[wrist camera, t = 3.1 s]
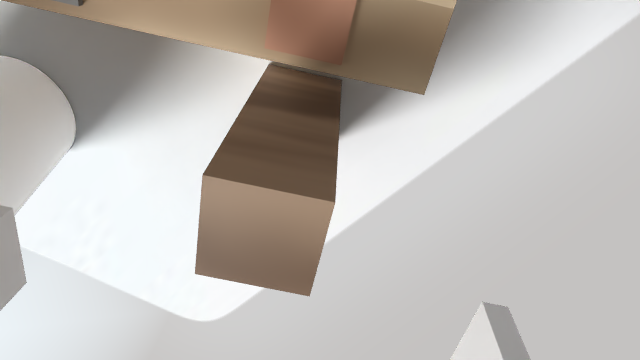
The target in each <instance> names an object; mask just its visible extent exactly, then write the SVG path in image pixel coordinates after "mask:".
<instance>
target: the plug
mask: <svg viewBox="0 0 640 360" xmlns="http://www.w3.org/2000/svg"><path fill="white" fill-rule="evenodd" d="M341 86H342V80H337V79H333V78H329V77H324V76H320V75H315V74H311V73H306V72H302V71H297V70H293V69H288V68H284V67H279V66H275V65H270V64H269V65H268V67H267V68H266V70H265V72H264V73H263V75H262V77H261V78H260V80H259V82H258V83H257V85H256V87H255V88H254V90H253V92H252V93H251V95H250V97H249V98H248V100H247V102H246V103H245V105H244V107H243V108H242V110H241V112H240V113H239V115H238V117H237V118H236V120H235V122H234V123H233V125H232V127H231V128H230V130H229V132H228V133H227V135H226V137H225V138H224V140H223V142H222V143H221V145H220V147H219V148H218V150H217V152H216V153H215V155H214V157H213V158H212V160H211V162H210V163H209V165H208V167H207V168H206V170H205V172H204V173H203V176H202V189H201V202H200V215H199V228H198V241H197V254H196V267H195V274H198V275H203V276H208V277H213V278H219V279H224V280H229V281H234V282H239V283H244V284H249V285H254V286H259V287H265V288H270V289H275V290H280V291H285V292H290V293H295V294H300V295H306V296H310V293H311V289H312V286H313V282H314V278H315V274H316V271H317V267H318V264H319V260H320V256H321V253H322V249H323V245H324V242H325V238H326V234H327V231H328V227H329V223H330V220H331V216H332V212H333V209H334V205H335V196H336V178H337V159H338V141H339V122H340V104H341Z"/></svg>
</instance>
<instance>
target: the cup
mask: <svg viewBox="0 0 640 360" xmlns="http://www.w3.org/2000/svg"><path fill="white" fill-rule="evenodd" d="M75 134H76V123H75V117H74V114H73V111H72V108H71V106H70V104H69V102H68V100H67V98H66V97H65V95H64V94H63V92H62V91H61V90H60V88H59V87H58V86H57V85H56V84H55V83H54V82H53V81H52V80H51V79H50V78H49V77H48V76H47V75H45V74H44V73H43V72H41V71H40V70H39V69H37V68H35V67H34V66H32V65H30V64H28V63H26V62H24V61H21V60H19V59H16V58H12V57H8V56H1V55H0V205H1V206H6V207H11V208H13V212H14V216H15V215H16V213H17V212H18V211H19V210H20V209H21V207H22V206H23V205H24V204H25V202H26V201H27V200H28V199H29V198H30V196H31V195H32V194H33V193H34V192H35V190H36V189H37V188H38V187H39V186H40V184H41V183H42V182H43V181H44V180H45V178H46V177H47V176H48V175H49V173H50V172H51V171H52V170H53V169H54V167H55V166H56V165H57V164H58V163H59V161H60V160H61V159H62V158H63V157H64V155H65V154H66V153H67V152H68V150H69V149H70V148H71V146H72V144H73V142H74V139H75Z"/></svg>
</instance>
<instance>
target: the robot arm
mask: <svg viewBox="0 0 640 360" xmlns="http://www.w3.org/2000/svg"><path fill="white" fill-rule="evenodd" d="M25 284H26V277H25V271H24V266H23V260H22V255H21V250H20V244H19V239H18V233H17V228H16V222H15V217H14V212H13V208H11V207H6V206H1V205H0V310H1V309H2V308H3V307H4V306H5V305H6V304H7V303H8V302H9V301H10V300H11V299H12V298H13V297H14V295H15V294H16V293H17V292H18V291H19V290H20V289H21V288H22V287H23V286H24V285H25ZM450 360H530V357H529V355H528V353H527V351H526V348H525V346H524V343H523V341H522V339H521V336H520V334H519V332H518V329H517V327H516V325H515V323H514V320H513V318H512V315H511V313H510V311H509V308H508V307H505V306H500V305H495V304H490V303H485V302H482V303H481V305H480V307H479V309H478V310H477V312H476V314H475V316H474V318H473V319H472V321H471V323H470V325H469V327H468V328H467V330H466V332H465V334H464V336H463V337H462V339H461V341H460V343H459V344H458V346H457V348H456V350H455V352H454V353H453V355H452V357H451V359H450Z"/></svg>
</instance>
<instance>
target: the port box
mask: <svg viewBox="0 0 640 360" xmlns="http://www.w3.org/2000/svg"><path fill="white" fill-rule="evenodd" d="M2 1H7V2H11V3H16V4H20V5H25V6H29V7H34V8H38V9H43V10H47V11H52V12H56V13H60V14H65V15H69V16H74V17H78V18H83V19H87V20H92V21H96V22H101V23H105V24H110V25H114V26H118V27H123V28H127V29H132V30H136V31H141V32H145V33H150V34H154V35H159V36H163V37H168V38H172V39H177V40H181V41H185V42H190V43H194V44H199V45H203V46H208V47H212V48H217V49H221V50H226V51H230V52H235V53H239V54H243V55H248V56H252V57H257V58H261V59H266V60H270V61H275V62H279V63H284V64H288V65H293V66H297V67H302V68H306V69H310V70H315V71H319V72H324V73H328V74H333V75H337V76H342V77H346V78H351V79H355V80H360V81H364V82H368V83H373V84H377V85H382V86H386V87H391V88H395V89H400V90H404V91H409V92H413V93H418V94H422V95H424V94H425V91H426V88H427V85H428V82H429V79H430V76H431V73H432V71H433V68H434V65H435V62H436V59H437V56H438V53H439V50H440V48H441V45H442V42H443V39H444V36H445V33H446V30H447V27H448V25H449V22H450V19H451V16H452V13H453V10H454V7H455V4H456V2H457V0H2Z"/></svg>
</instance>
